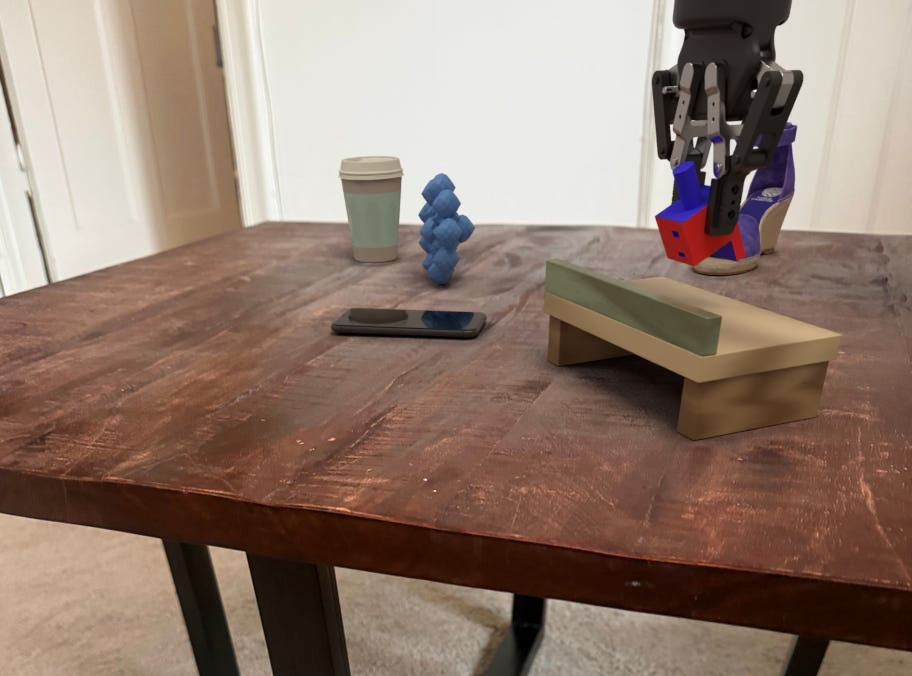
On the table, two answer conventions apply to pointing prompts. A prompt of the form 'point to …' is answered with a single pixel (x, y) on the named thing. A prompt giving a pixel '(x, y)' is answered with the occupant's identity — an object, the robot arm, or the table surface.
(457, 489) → the table surface
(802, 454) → the table surface
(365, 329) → the smartphone
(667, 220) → the toy building block
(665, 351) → the shoe shelf
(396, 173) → the coffee cup
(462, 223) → the grapes
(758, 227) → the sandal
